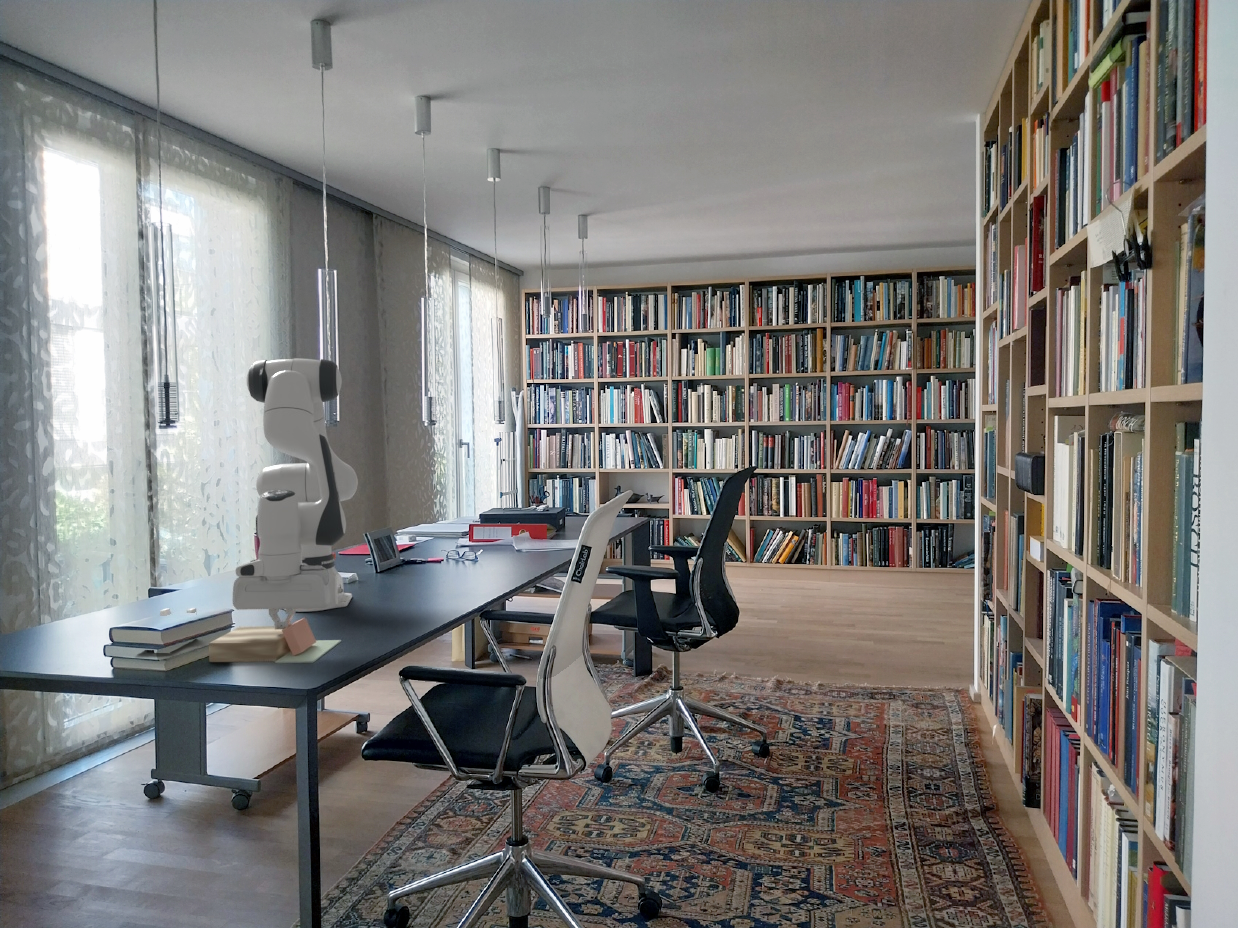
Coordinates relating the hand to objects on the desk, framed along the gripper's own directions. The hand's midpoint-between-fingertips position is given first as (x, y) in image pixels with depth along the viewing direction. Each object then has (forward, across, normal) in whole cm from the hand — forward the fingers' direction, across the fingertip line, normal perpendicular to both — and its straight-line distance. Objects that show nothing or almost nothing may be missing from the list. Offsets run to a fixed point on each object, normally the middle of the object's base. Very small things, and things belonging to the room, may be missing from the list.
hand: (282, 628), depth 196 cm
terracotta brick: (+2, -3, 0) cm, 3 cm away
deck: (+5, +6, 0) cm, 8 cm away
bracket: (+6, +29, -7) cm, 30 cm away
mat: (+5, -6, 0) cm, 8 cm away
